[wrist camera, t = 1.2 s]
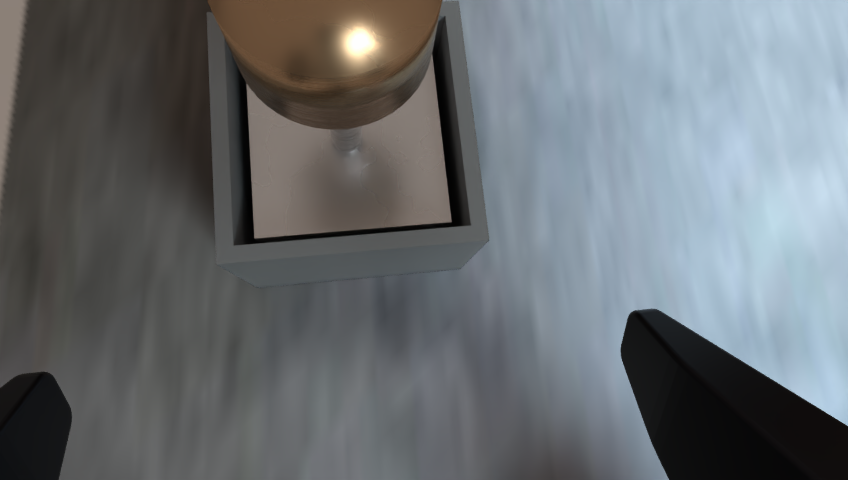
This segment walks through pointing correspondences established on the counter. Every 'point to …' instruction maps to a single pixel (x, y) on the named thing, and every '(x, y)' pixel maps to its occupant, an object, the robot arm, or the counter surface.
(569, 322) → the counter surface
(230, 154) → the grey open box
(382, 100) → the plunger
